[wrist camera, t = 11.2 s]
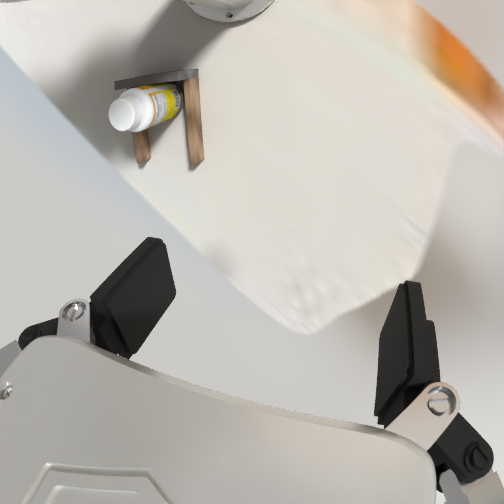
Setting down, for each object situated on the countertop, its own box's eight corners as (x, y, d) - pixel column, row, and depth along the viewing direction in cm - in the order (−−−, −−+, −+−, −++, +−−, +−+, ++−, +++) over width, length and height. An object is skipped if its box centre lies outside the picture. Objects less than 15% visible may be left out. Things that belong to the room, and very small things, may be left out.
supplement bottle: (145, 101, 38) (96, 117, 30) (166, 73, 35) (117, 81, 27) (169, 126, 39) (124, 147, 31) (193, 99, 36) (147, 113, 28)
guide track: (204, 159, 41) (187, 171, 37) (146, 157, 43) (126, 169, 40) (198, 68, 33) (178, 70, 30) (136, 77, 36) (114, 81, 32)
